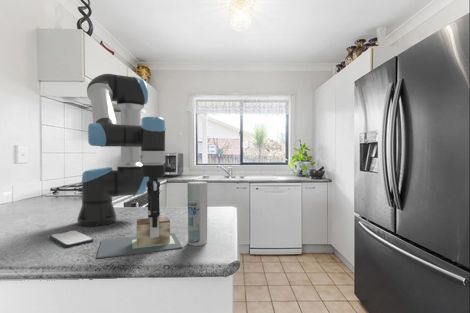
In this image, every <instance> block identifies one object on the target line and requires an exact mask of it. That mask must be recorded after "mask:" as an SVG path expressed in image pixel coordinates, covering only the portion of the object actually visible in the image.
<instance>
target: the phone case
mask: <svg viewBox="0 0 470 313" xmlns="http://www.w3.org/2000/svg"><path fill="white" fill-rule="evenodd" d="M49 240H51V241H52V240H53V242H54V241H55V242H54V243H56V242H57V243H56V244H58V245H59V244H60V245H59V246H61V245H62V246H61V247H63V248H66V249H70V248H74V246H75V247H78V246H82V244H83V245H86V243H87V244H90V243H94V238H92V237H91V236H89V235H87V234H85V233H82V232H81V231H78V230H76V229H75V230H69V231H63V232H59V233H52V234H50V235H49Z"/></svg>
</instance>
